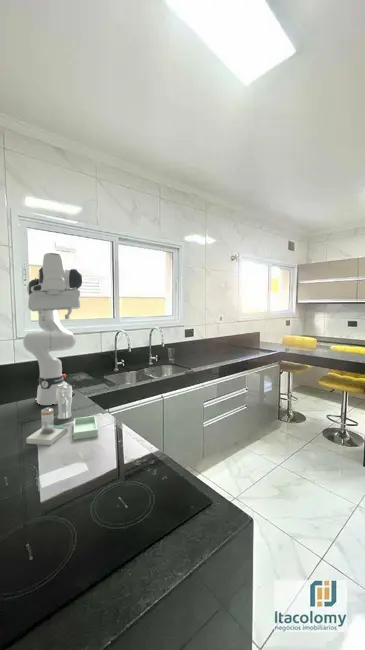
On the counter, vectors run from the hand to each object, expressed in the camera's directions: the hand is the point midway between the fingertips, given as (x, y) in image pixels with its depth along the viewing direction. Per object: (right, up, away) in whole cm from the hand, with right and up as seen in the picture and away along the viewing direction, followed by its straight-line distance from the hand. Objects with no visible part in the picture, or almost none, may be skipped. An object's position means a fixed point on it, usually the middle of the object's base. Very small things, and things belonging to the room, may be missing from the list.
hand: (55, 319), depth 118 cm
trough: (+13, -47, +1) cm, 49 cm away
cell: (0, -45, -6) cm, 46 cm away
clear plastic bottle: (-2, -46, +14) cm, 49 cm away
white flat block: (0, -47, -6) cm, 48 cm away
